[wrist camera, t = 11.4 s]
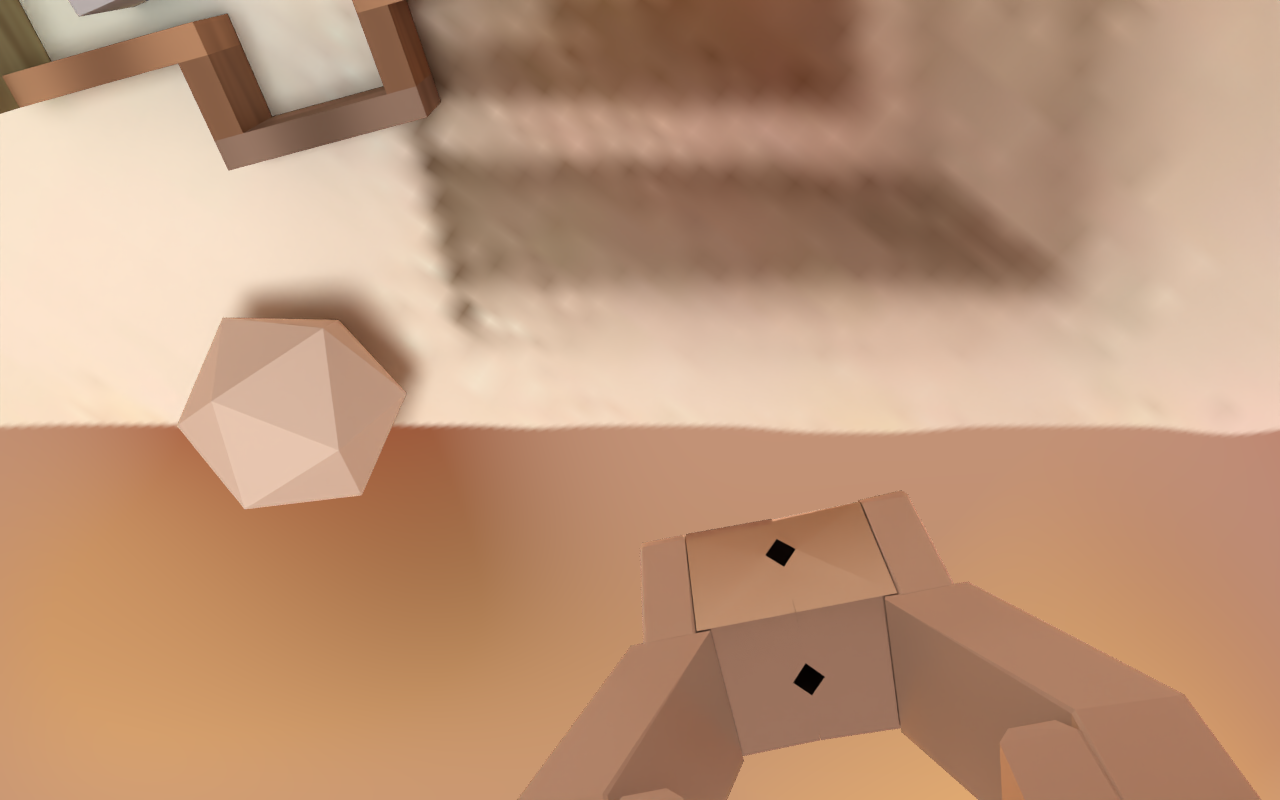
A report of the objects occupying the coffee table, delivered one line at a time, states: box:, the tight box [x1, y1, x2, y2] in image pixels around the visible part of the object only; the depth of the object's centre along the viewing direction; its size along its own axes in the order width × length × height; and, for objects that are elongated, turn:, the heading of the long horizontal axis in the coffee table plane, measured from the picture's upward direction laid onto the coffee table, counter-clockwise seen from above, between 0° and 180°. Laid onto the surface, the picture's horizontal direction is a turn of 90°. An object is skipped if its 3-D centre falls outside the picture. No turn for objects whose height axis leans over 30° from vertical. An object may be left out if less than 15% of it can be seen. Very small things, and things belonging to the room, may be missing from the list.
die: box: [177, 318, 406, 509], centre depth 40 cm, size 8×9×10 cm
